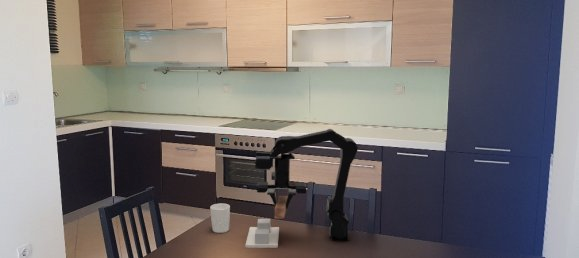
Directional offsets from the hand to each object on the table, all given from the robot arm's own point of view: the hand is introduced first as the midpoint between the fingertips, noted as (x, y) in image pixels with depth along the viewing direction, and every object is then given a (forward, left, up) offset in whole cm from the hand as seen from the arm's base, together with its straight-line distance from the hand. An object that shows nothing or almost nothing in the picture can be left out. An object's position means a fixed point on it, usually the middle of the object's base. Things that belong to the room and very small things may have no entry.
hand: (281, 208), depth 181 cm
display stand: (+7, 0, -12) cm, 14 cm away
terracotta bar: (0, 0, -1) cm, 1 cm away
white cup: (+25, -9, -12) cm, 29 cm away
